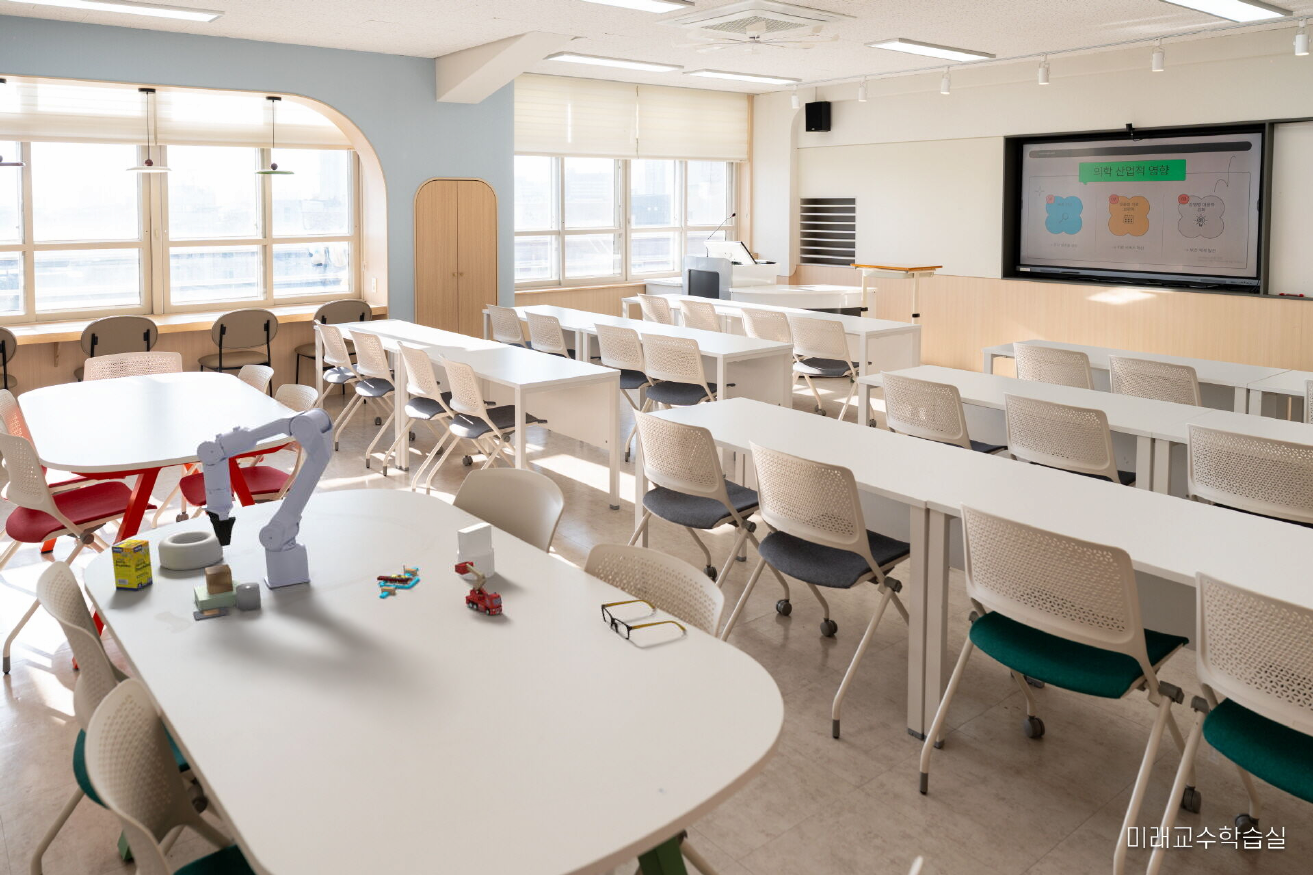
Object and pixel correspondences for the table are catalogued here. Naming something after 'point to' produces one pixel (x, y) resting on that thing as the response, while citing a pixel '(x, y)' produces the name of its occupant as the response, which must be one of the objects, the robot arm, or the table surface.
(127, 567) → the supplement box
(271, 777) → the table surface
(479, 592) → the toy fire truck
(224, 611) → the card
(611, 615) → the eyeglasses
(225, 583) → the walnut cube
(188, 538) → the donut shape
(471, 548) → the base with upright slab
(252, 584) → the grey cylinder
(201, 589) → the sage slab
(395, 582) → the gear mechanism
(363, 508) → the table surface
